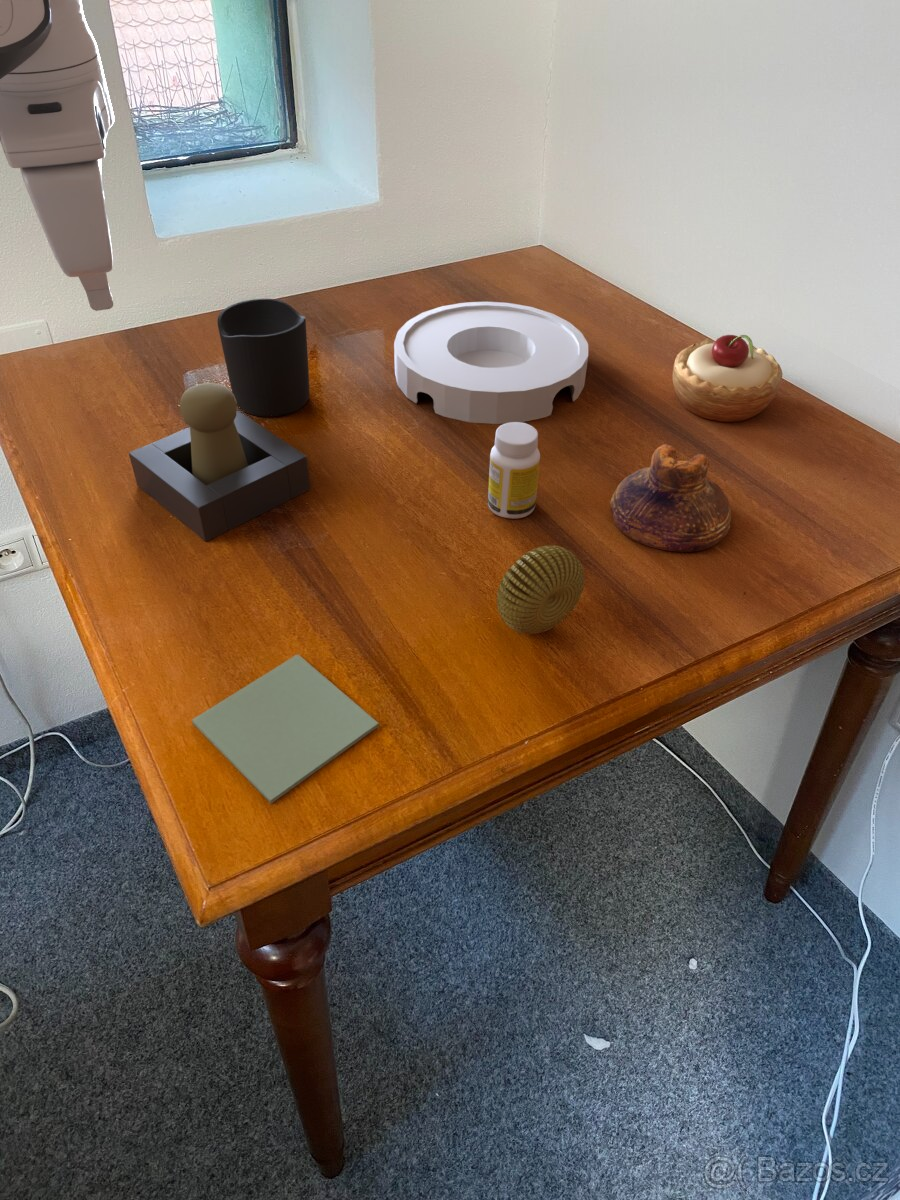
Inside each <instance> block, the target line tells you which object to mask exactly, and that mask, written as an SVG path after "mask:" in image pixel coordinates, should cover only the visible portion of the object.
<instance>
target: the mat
mask: <svg viewBox="0 0 900 1200" xmlns="http://www.w3.org/2000/svg"><path fill="white" fill-rule="evenodd" d="M191 723H192V725H193V726H194V727H196V728H197V729H198V731H199V732H201V734H202V735H203V736H204V737H205V738H206V739H207V740H208V741H209V742H210V743H211V744H212V745H213V747H215V748H216V749H217V750H218V751H219V752H220V753H221V754H222V755H223V756H224V757H225V758H226V759H227V761H229V762H230V764H231V765H233V766H234V768H235V769H236V770H238V772H239V773H240V774H241V775H242V776H243V777H244V778H245V779H246V780H247V781H248V782H249V783H250V784H251V785H252V786H253V787H254V788H255V789H256V790H257V791H258V792H259V794H261V795H262V796H263V797H264V799H266V800H267V801H268V802H269V804H273V803H274V802H276V801H277V800H279V799H280V798H282V797H283V796H284V795H285V794H287V793H288V792H290V791H291V790H292V789H294V788H295V787H296V786H298V785H300V784H301V783H303V782H304V781H305V780H306V779H308V778H309V777H310V776H312V775H313V774H315V773H316V772H317V771H319V770H320V769H321V768H323V767H325V766H327V764H329V763H330V762H331V761H333V760H335V758H338V756H340V755H341V754H343V753H344V752H345V751H346V750H348V749H349V748H351V747H352V746H354V745H355V744H357V742H359V741H361V740H362V739H363V738H364V737H366V736H367V735H369V734H370V733H372V732H373V731H375V730H376V729H377V728H378V727H379V726H380V725H379V722H378V721H377V720H376V719H374V718H373V716H371V715H370V714H369V713H368V712H366V711H365V710H364V709H363V708H362V707H361V706H360V705H358V704H357V703H356V702H354V700H352V699H351V698H350V697H349V696H347V695H346V694H345V693H344V692H343V691H342V690H340V689H339V688H338V687H337V686H336V685H335V684H334V683H332V682H331V681H330V680H329V679H328V678H327V677H325V676H324V675H323V674H322V673H321V672H319V671H318V669H316V668H315V667H314V666H313V665H311V664H310V663H309V662H308V661H307V660H305V659H304V658H303V657H302V656H301V655H300V654H298V653H297V654H295V655H294V656H292V657H289V659H287V660H286V661H284V662H282V663H281V664H279V665H277V666H276V667H274V668H273V669H271V670H269V671H268V672H266V673H265V674H263V675H262V676H260V677H259V678H257V679H255V680H253V681H251V682H250V683H249V684H247V685H245V686H244V687H242V688H240V689H239V690H237V691H236V692H234V693H232V694H231V695H229V696H227V697H226V698H225V699H223V700H221V701H219V702H218V703H216V704H215V705H213V706H212V707H210V708H208V709H207V710H205V711H204V712H202V713H200V714H199V715H197V716H196V717H194V718H192V719H191Z"/></svg>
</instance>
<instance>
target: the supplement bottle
mask: <svg viewBox="0 0 900 1200" xmlns="http://www.w3.org/2000/svg"><path fill="white" fill-rule="evenodd" d="M538 442H539V432H538V430H537V429H536V428H535V427H534V426H533V425H531V424H528V423H527V422H510V423H505V424H500V425H499V426H498V427H497V428H496V430H495V437H494V445H493V446H492V448H491V450H490V454H489V471H488V473H489V474H488V490H487V506H488V508H489V510H490V511H491V512H492V513H493V514H495V515H496V516H499V517H501V518H505V519H512V520H513V519H514V520H515V519H522V518H525V517H527V516H529V515H531V514H532V513H533V512H534V510H535V508H536V505H537V496H538V494H537V493H538V484H539V476H540V475H539V474H540V462H541V452H540V450H539V448H538V445H539V443H538Z"/></svg>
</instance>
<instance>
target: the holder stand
mask: <svg viewBox="0 0 900 1200" xmlns="http://www.w3.org/2000/svg"><path fill="white" fill-rule="evenodd" d="M234 423H235V426H236V429H237V432H238V435H239V438H240V441H241V444H242V447H243V450H244V453H245V456H246V459H247V463H248V467H246V468H243V469H241V470H239V471H237V472H235V473H233V474H230V475H228V476H226V477H224V478H222V479H220V480H218V481H215V482H213V483H211V484H209V485H207V486H206V485H205V484H204V483H202V482H201V481H200V480H198V479H197V478H196V477H194V476H193V473H192V455H191V437H190V426H189V427H187V428H184V429H182V430H180V431H177V432H175V433H172V434H170V435H167V436H164V437H163V438H160V439H158V440H156V441H153V442H151V443H149V444H146V445H144V446H141V447H139V448H137V449H134V450H131V451H129V452H128V457H129V459H130V465H131V467H132V470H133V475H134V478H135V483H136V486H137V487H138V488H139V489H141V490H142V491H143V492H144V493H145V494H147V495H148V496H149V497H150V498H152V499H153V500H154V501H155V502H156V503H158V504H159V505H160V506H161V507H163V508H164V509H165V510H166V511H167V512H169V513H170V514H171V516H173V517H175V519H177V520H178V521H180V522H181V523H182V524H183V525H184V526H186V527H187V528H188V529H189V530H190V531H191V532H193V533H194V534H195V535H197V536H198V537H199V538H200V539H202V540H203V541H204V542H205V543H206V542H208V541H209V542H210V541H211V540H212V539H214V538H216V537H219V536H221V535H223V534H225V533H226V532H228V531H230V530H233V529H235V528H237V527H239V526H242V524H245V523H247V522H248V521H251V520H253V519H254V518H257V517H259V516H261V515H262V514H264V513H267V512H269V511H270V510H273V509H274V508H276V507H278V506H280V505H282V504H284V503H286V502H288V501H290V500H293V499H294V498H296V497H298V496H301V495H302V494H304V493H306V492H308V491H310V490H311V482H310V481H311V479H310V471H309V462H308V456H307V455H306V454H304V453H303V452H301V451H300V450H298V449H297V448H295V447H294V446H292V445H291V444H290V443H288V442H286V441H285V440H284V439H282V438H280V437H279V436H278V435H275V434H274V433H273V432H272V431H270V430H268V429H267V428H266V427H264V426H263V425H261V424H259V423H257V422H256V421H255V420H253V419H252V418H250V417H248V416H247V415H245V414H244V413H242V412H241V411H239V410H238V409H237V414H236V417H235V419H234Z"/></svg>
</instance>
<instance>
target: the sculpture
mask: <svg viewBox="0 0 900 1200" xmlns="http://www.w3.org/2000/svg"><path fill="white" fill-rule="evenodd" d="M499 583H500V584H499V586H498V589H497V595H496V606H497V610H498V614H499V616H500V618H501V620H502V621H503V622H504V623H505V625H506V626H507V627H509V628H510V629H512V630H513V631H515V632H517V633H521V634H525V635H536V634H540V633H544V632H546V631H549V630H551V629H553V628H555V627H556V626H557V625H560V624H561V623H562V621H564V620H565V619H567V616H570V614H571V612H573V610H574V609H575V607H576V606H577V605H578V603H579V601H580V599H581V596H582V595H583V591H584V587H585V572H584V567H583V565H582V563H581V561H580V559H579V558H578V557H577V555H576V554H575V553H574V552H572V551H570V550H569V549H568V548H565V547H563V546H560V545H550V544H549V545H542V546H539V547H535V548H533V549H531V550H528V551H527V552H525V553H524V554H522V555H520V557H519V558H516V560H515V561H514V563H512V564H511V565H510V566H509V568H507V570H506V571H505V574H504V575H503V576H502V579H501V581H500V582H499Z"/></svg>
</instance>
